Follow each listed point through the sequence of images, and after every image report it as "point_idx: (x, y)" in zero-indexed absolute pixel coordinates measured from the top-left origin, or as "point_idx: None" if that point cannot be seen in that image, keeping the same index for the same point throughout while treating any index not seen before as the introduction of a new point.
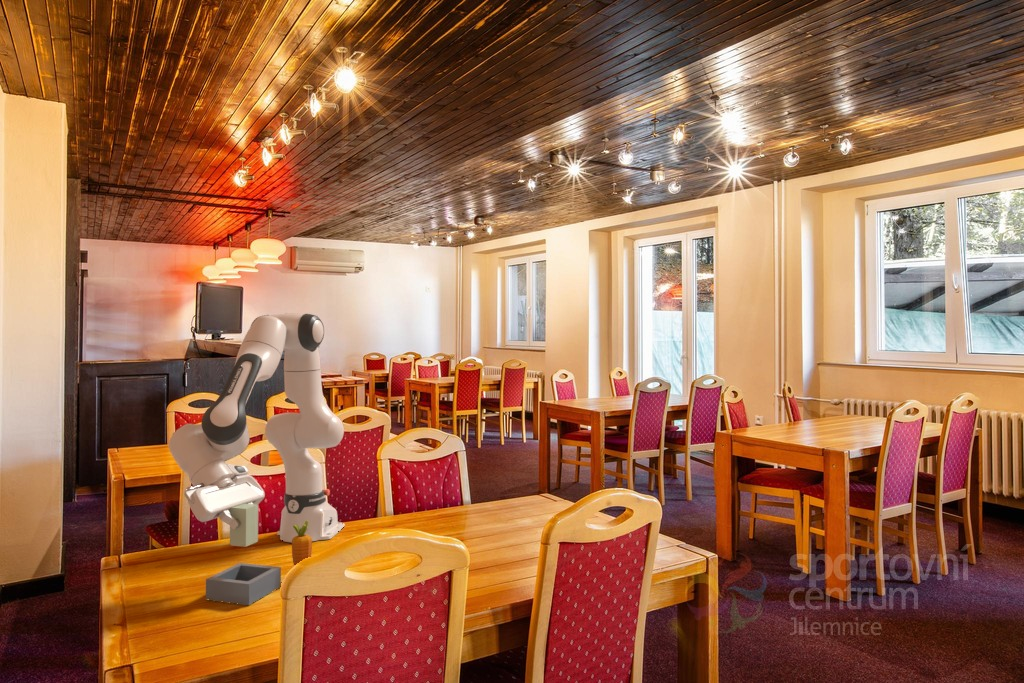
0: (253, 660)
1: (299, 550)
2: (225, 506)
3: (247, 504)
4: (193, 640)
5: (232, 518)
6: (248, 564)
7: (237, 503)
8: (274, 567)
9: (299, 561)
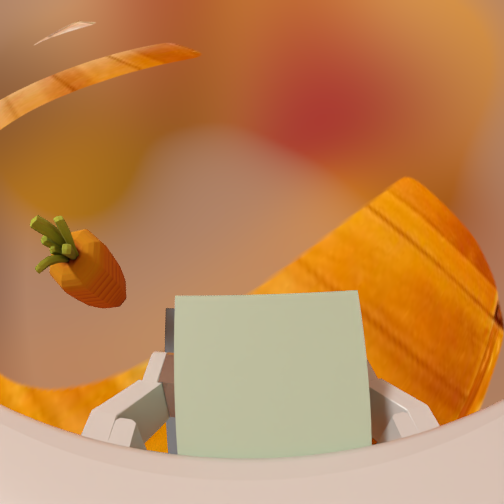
0: (423, 186)
1: (112, 261)
2: (450, 434)
3: (202, 408)
4: (437, 299)
5: (381, 384)
6: (172, 420)
7: (303, 462)
8: (172, 325)
9: (122, 275)
